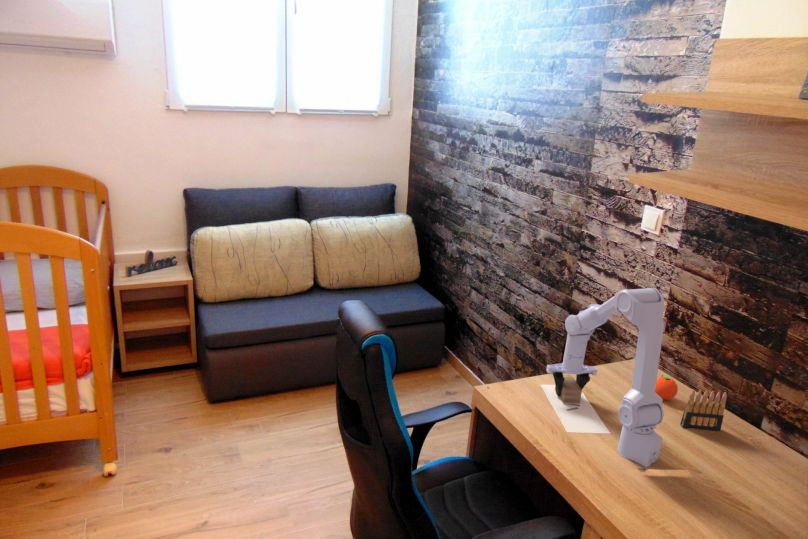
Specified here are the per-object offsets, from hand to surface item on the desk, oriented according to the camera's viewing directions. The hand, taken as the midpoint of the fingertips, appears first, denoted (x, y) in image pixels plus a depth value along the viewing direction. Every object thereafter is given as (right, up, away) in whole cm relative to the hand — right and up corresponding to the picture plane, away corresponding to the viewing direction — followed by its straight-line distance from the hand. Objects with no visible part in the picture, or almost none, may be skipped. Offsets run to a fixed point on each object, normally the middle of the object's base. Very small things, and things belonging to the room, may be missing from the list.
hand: (567, 394), depth 180 cm
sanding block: (0, -1, 0) cm, 1 cm away
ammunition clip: (+36, -8, -8) cm, 37 cm away
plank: (0, -4, -5) cm, 6 cm away
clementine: (+32, -2, +7) cm, 33 cm away
